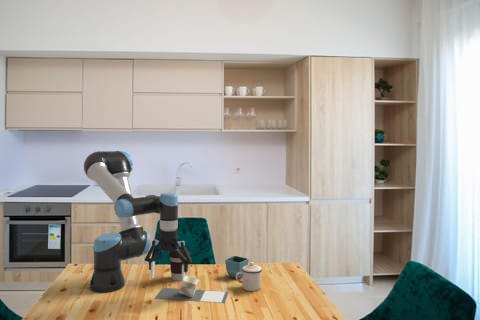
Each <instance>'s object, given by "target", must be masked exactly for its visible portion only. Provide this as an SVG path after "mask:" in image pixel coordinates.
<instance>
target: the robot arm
mask: <svg viewBox="0 0 480 320" xmlns="http://www.w3.org/2000/svg"><path fill="white" fill-rule="evenodd" d="M133 167H134V162H133V159H132V157H131V155H130V154H129V153H127V152H126V151H123V150H121V151H120V150H115V151H114V150H113V151H111V150H110V151H109V150H108V151H104V150H103V151H102V150H99V151H94V152H92V153H90V154H89V155H87V157H86V158H85V159H84V163H83V171H84V173H85V175H86V176H87V177H88V178H89V179H90V180H91V181H94V182H95V183H96V185H98V187H100V189H101V190H102V191H103V192H104V193H105V195H107V197H108V199H110V200H111V201H112V203H113V204H114V205H113V210H114V211H113V212H114V213H115V215H116V217H117V218H118V222H119V226H120V230H119V231H118V232H109V233H104V234H101V235H99V236H96V238H95V239H94V240H93V241H94V242H93V247H92V249H93V272H92V276H91V279H90V281H89V289H90V291H93V292H95V293H110V292H114V291H119V290H121V289H122V288H123V287H125V284H126V280H125V276H124V274H123V271H122V268H121V267H122V265H121V264H122V261H125V260H130V259H135V258H139V257H142V256H145V255H146V256H145V258H144V261H145V262H148V270H149V271H150V279H154V277H155V267H156V266H155V265H156V261H154V260H155V259H156V258H157V257H158V256H159V254H160V253H162V252H168V253H169V252H171V251H173V252H174V253H176V255H177V256H178V257H179V259H180V260H181V261H182V262H183V265H182V281H183V279H184V278H185V272H187V273H188V271H189V265H190V264H191V263H193V260H192V257H191V256H190V255H191V254H190V255H189V253H188V251H189V250H188V249H187V247H186V241H185V240H182V241H181V240H180V241H179V240H178V228H179V227H178V226H179V225H178V224H179V221H178V219H179V218H178V217H179V216H178V215H179V211H178V210H179V197H178V194H177V193H176V192H175V193H174V192H162V193H161V194H160V195H155V194H148V195H146V196H141V197H134V196H133V193H132V189H131V185H130V181H129V177H131V172H132V171H133ZM149 214H157V215H158V214H159V229H160V230H159V240H158V239H157V238H155V239H153V240H152V239H151V235H150V233H149V231H147V230H144V226H143V225H141V224H140V223H139V219H138V216H143V215H149ZM157 245H159V248H158V250H157V251H156V252H155V253H154V251H155V248H156V246H157ZM178 245H179V247H181V249H182V251H183V253H184V255H185V257H186V258H185V257H184V256H183V254H182V253H181V252H180V251H179V249H178ZM187 250H188V251H187ZM153 253H154V254H153ZM186 259H187V260H186ZM187 270H188V271H187Z"/></svg>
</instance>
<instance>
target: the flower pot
mask: <svg viewBox="0 0 480 320" xmlns="http://www.w3.org/2000/svg"><path fill="white" fill-rule="evenodd" d="M249 260H250V259H249V258H247V257H243V256H238V255H232V256H230V257H228V258H226V259H225V260H224V262H225V270H226V273H227V275H228V277H230V278H232V279H236V274H237V273H238V272H243V271H242V268H243V267H244V266H246V265H249ZM241 278H243V274H239V275H238V276H237V279H238V280H239V279H241Z"/></svg>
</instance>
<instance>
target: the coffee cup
mask: <svg viewBox="0 0 480 320" xmlns="http://www.w3.org/2000/svg"><path fill="white" fill-rule="evenodd" d="M177 247H178V246H177ZM178 249H179V251H180V252H181V253H182V254H183V256H184V257H185V255H184V253H183V251H182V249H181V247H180V246H179V247H178ZM187 251H188V253H189V255H191V252H190V250H188V249H187ZM168 257H169V258H170V259H169V267H170V277H171V280H172V281H175V282H180V281H181V282H182V281H183V280H182V265H183V262H182V261H181V260H180V259H179V257H178V256H177V255H176V253H174V252H173V251H171V252H169V251H168ZM185 258H186V257H185ZM186 260H187V259H186ZM188 271H189V269H188V270H187V272H185V276H186V275H187V276H188Z"/></svg>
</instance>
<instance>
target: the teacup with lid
mask: <svg viewBox="0 0 480 320" xmlns="http://www.w3.org/2000/svg"><path fill="white" fill-rule="evenodd" d="M242 271H243V272H238V273H237V274H236V278H235V279H236V282H238V283H239V284H242V286H241V287H242V289H243V290H245V291H248V292H255V291H259V290H261V289H262V271H263V269H262V267H261V266H259V265H257V264H256V263H255V262H253V261H252V262H250V263H248V265H246V266H244V267H243V268H242ZM239 274H243V277H241V278H242V280H239V279H237V276H238V275H239Z"/></svg>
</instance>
